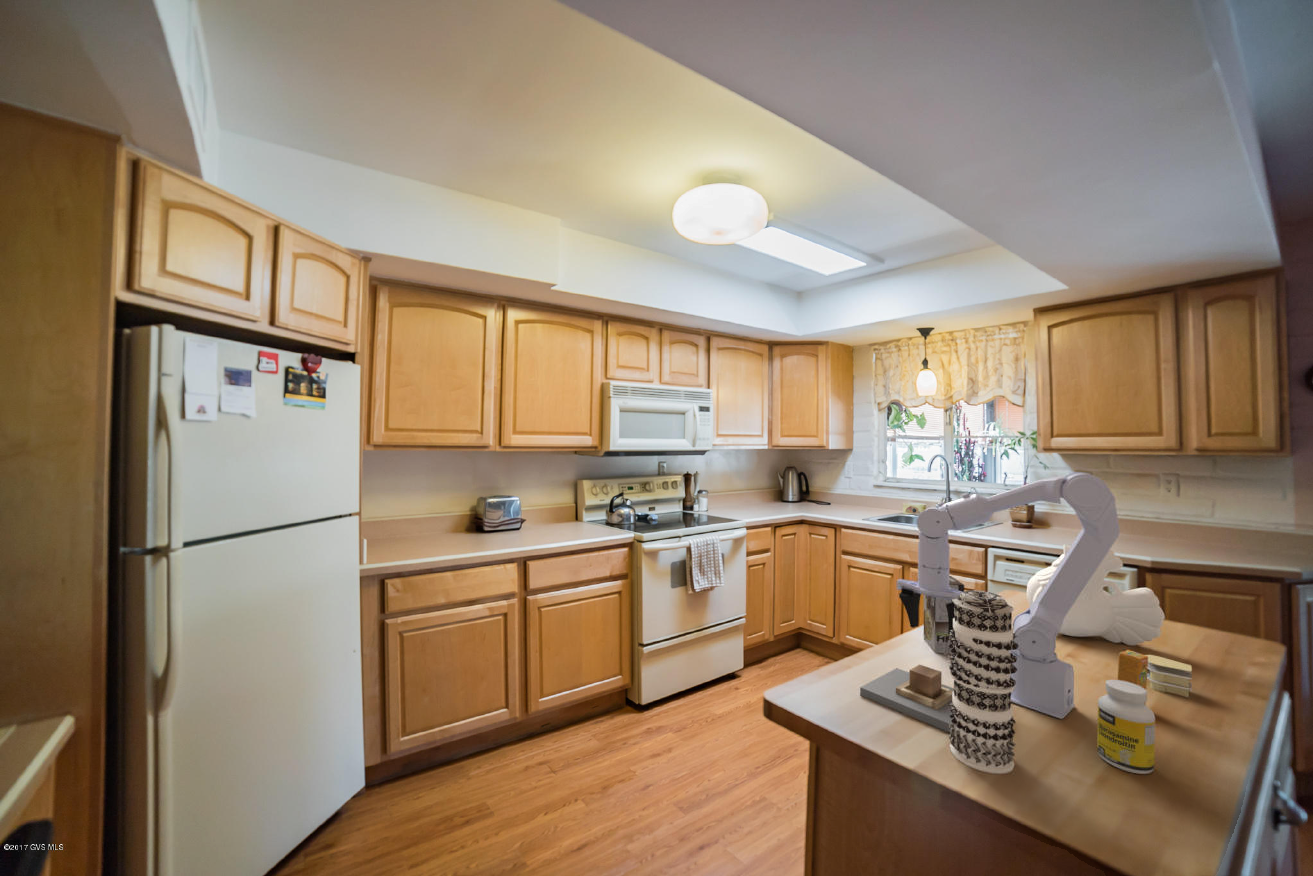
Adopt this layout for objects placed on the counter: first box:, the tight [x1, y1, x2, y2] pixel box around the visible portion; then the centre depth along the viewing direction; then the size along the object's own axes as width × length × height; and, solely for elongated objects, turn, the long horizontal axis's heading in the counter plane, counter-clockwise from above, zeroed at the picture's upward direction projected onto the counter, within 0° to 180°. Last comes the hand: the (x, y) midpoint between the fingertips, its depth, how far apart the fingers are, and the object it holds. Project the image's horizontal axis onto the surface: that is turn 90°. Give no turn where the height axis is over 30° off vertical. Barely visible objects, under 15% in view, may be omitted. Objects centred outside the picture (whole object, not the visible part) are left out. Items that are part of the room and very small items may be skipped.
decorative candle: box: [948, 589, 1019, 775], centre depth 80 cm, size 9×9×25 cm
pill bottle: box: [1096, 679, 1156, 775], centre depth 79 cm, size 6×6×12 cm
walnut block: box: [909, 664, 942, 700], centre depth 97 cm, size 4×4×6 cm
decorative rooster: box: [1026, 544, 1166, 646], centre depth 128 cm, size 25×16×25 cm
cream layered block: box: [1144, 654, 1193, 698], centre depth 104 cm, size 10×9×6 cm
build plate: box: [859, 667, 954, 734], centre depth 97 cm, size 18×14×2 cm
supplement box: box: [1117, 649, 1148, 704], centre depth 96 cm, size 3×3×10 cm
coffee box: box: [923, 575, 965, 655], centre depth 124 cm, size 9×6×16 cm
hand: (932, 631), depth 107 cm, fingers open, 7 cm apart
